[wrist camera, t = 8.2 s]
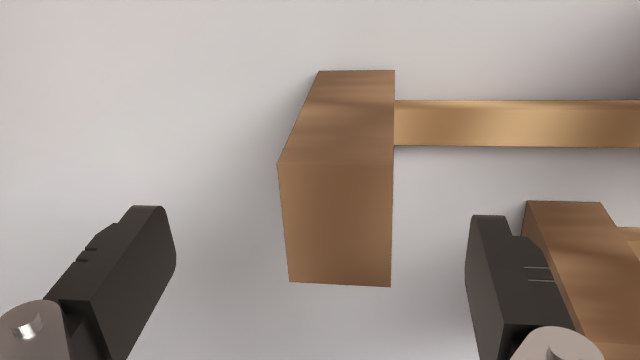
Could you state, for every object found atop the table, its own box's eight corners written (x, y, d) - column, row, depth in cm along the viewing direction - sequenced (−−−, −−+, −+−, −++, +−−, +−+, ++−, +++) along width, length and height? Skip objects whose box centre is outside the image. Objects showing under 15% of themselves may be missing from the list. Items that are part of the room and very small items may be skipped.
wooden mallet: (323, 159, 22) (289, 281, 15) (308, -120, 16) (245, -132, 10) (827, 167, 19) (1076, 323, 12) (999, -165, 14) (1608, -229, 7)
